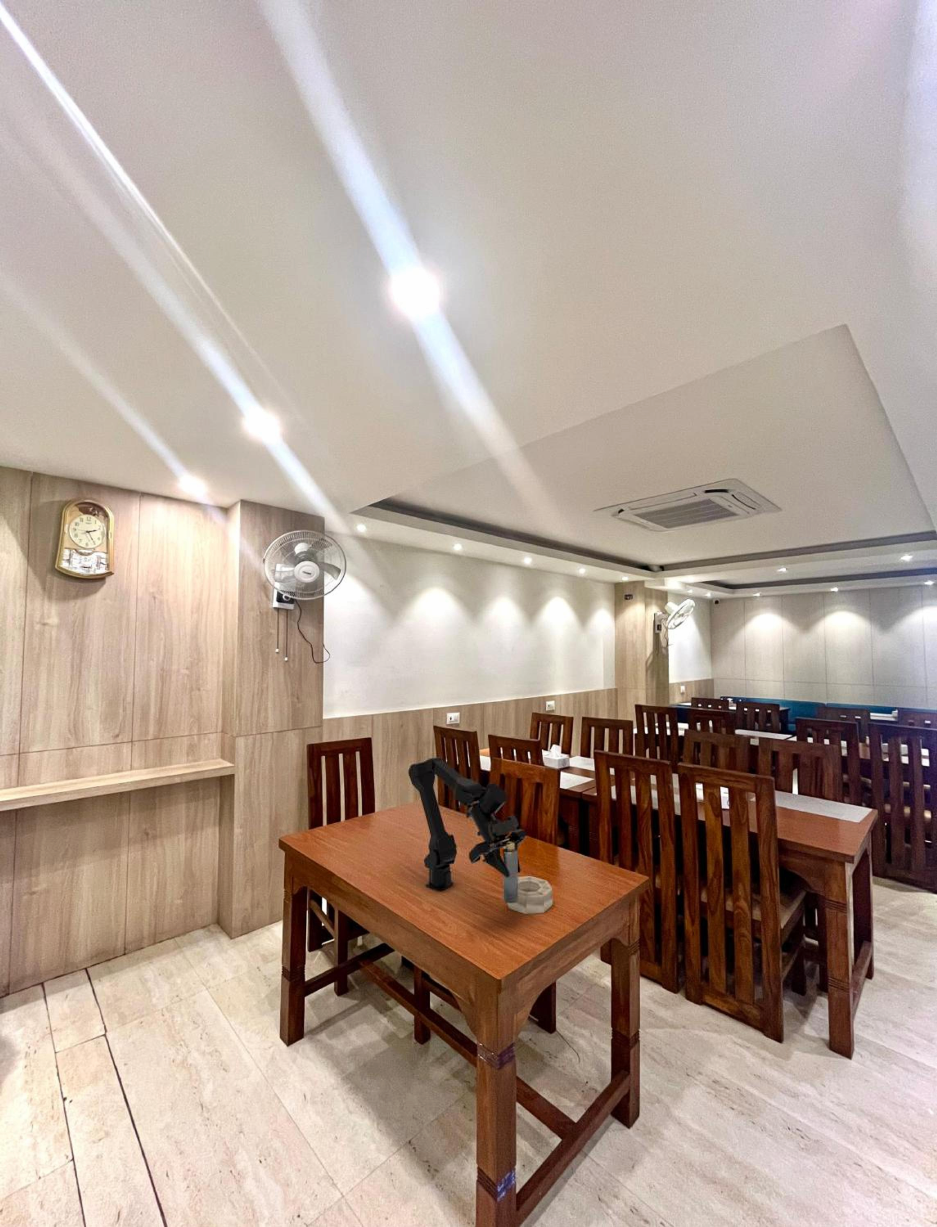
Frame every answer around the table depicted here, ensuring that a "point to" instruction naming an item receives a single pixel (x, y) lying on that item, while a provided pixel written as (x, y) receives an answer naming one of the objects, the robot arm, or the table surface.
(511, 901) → the bottle
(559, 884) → the table surface
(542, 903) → the cream octagonal ring
